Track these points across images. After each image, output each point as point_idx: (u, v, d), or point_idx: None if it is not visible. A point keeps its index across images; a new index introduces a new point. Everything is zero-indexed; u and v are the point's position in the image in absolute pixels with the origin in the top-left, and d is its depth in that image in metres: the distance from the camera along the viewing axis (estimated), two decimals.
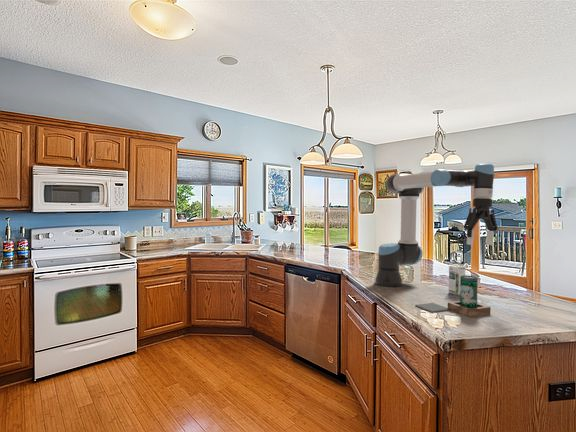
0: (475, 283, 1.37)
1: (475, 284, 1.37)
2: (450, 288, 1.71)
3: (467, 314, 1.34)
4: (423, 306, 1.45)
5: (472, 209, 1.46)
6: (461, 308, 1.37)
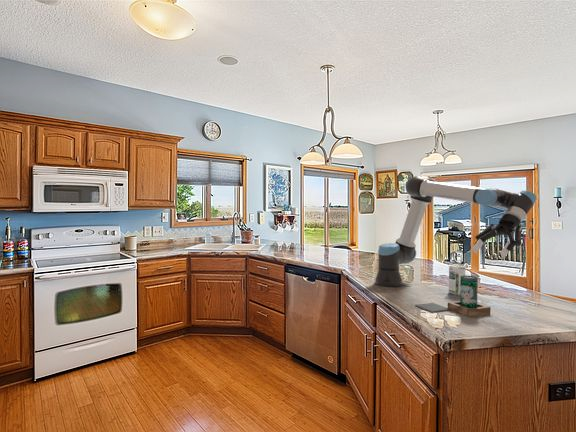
0: (475, 283, 1.37)
1: (475, 284, 1.37)
2: (450, 288, 1.71)
3: (467, 314, 1.34)
4: (423, 306, 1.45)
5: (521, 228, 1.40)
6: (461, 308, 1.37)
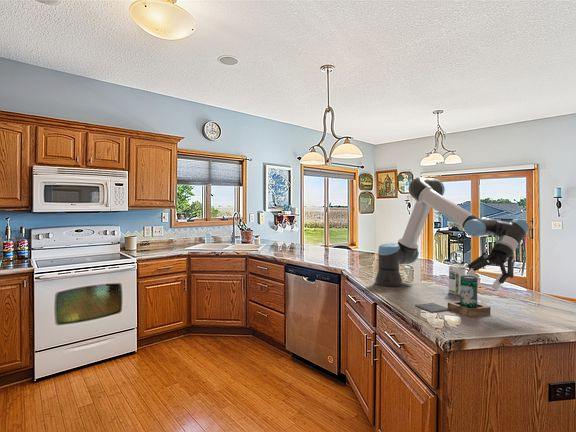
0: (475, 283, 1.37)
1: (475, 284, 1.37)
2: (450, 288, 1.71)
3: (467, 314, 1.34)
4: (423, 306, 1.45)
5: (513, 259, 1.38)
6: (461, 308, 1.37)
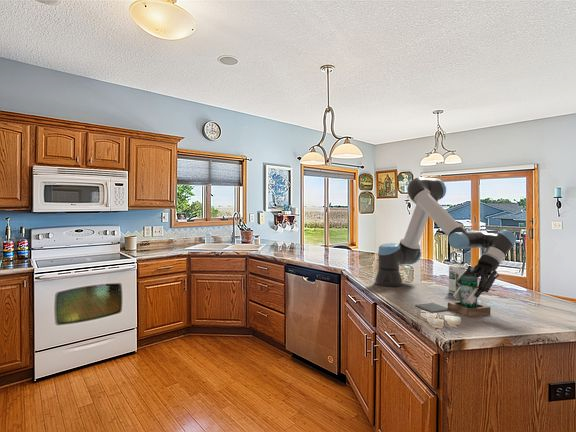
0: (475, 283, 1.37)
1: (475, 284, 1.37)
2: (450, 288, 1.71)
3: (467, 314, 1.34)
4: (423, 306, 1.45)
5: (497, 274, 1.36)
6: (461, 308, 1.37)
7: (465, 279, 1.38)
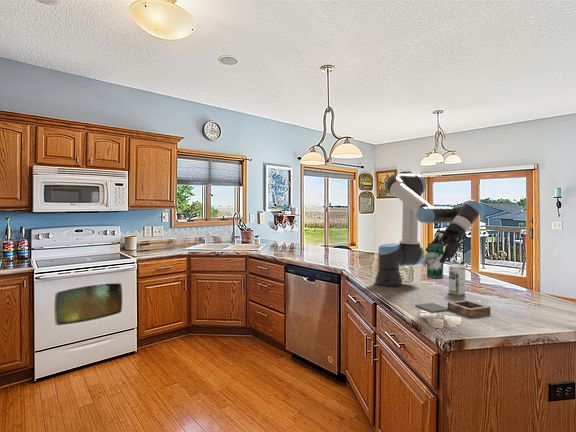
0: (441, 249, 1.41)
1: (441, 251, 1.41)
2: (450, 288, 1.71)
3: (467, 314, 1.34)
4: (423, 306, 1.45)
5: (462, 240, 1.40)
6: (461, 308, 1.37)
7: (431, 246, 1.42)
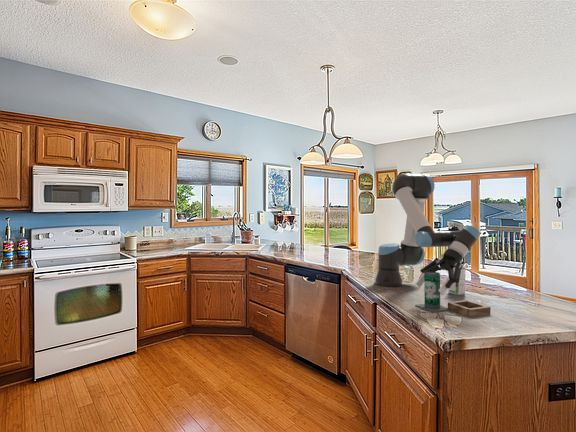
0: (437, 279, 1.42)
1: (437, 280, 1.42)
2: (450, 288, 1.71)
3: (467, 314, 1.34)
4: (423, 306, 1.45)
5: (461, 264, 1.41)
6: (461, 308, 1.37)
7: (428, 275, 1.43)
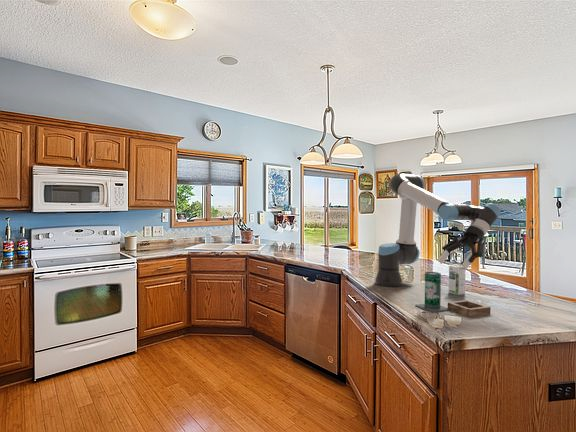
0: (438, 279, 1.42)
1: (438, 280, 1.42)
2: (450, 288, 1.71)
3: (467, 314, 1.34)
4: (423, 306, 1.45)
5: (483, 240, 1.45)
6: (461, 308, 1.37)
7: (429, 275, 1.43)
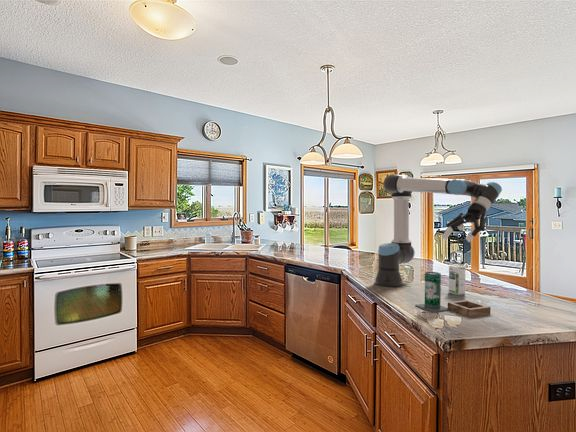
0: (438, 279, 1.42)
1: (438, 280, 1.42)
2: (450, 288, 1.71)
3: (467, 314, 1.34)
4: (423, 306, 1.45)
5: (485, 215, 1.54)
6: (461, 308, 1.37)
7: (429, 275, 1.43)
